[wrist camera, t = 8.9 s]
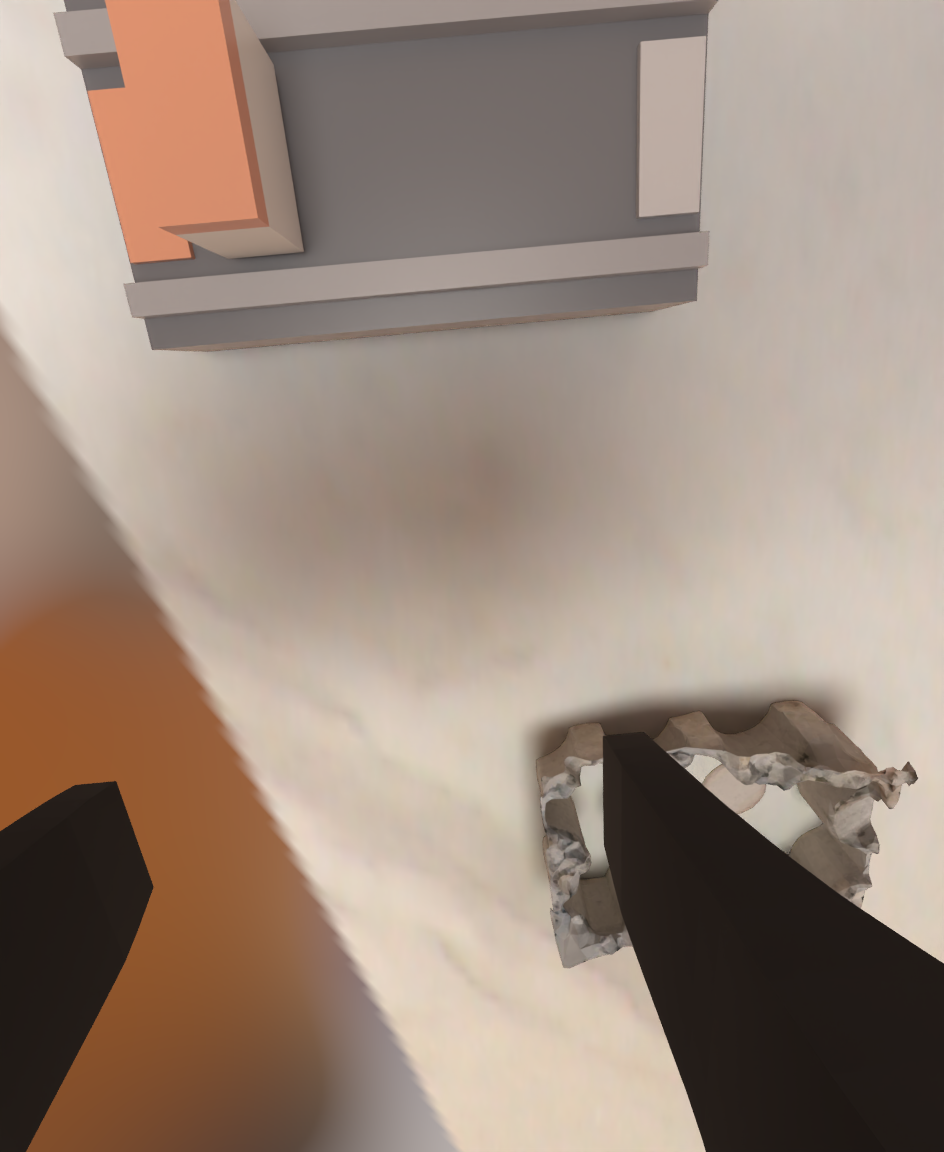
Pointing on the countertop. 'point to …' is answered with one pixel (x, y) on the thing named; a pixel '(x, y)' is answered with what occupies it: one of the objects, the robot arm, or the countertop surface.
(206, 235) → the breaker handle
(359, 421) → the countertop surface
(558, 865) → the egg carton
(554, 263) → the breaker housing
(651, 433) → the countertop surface
